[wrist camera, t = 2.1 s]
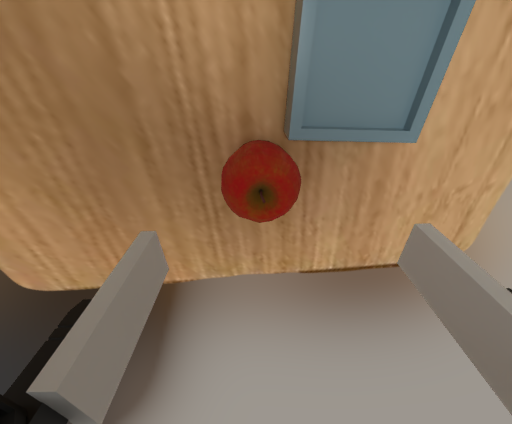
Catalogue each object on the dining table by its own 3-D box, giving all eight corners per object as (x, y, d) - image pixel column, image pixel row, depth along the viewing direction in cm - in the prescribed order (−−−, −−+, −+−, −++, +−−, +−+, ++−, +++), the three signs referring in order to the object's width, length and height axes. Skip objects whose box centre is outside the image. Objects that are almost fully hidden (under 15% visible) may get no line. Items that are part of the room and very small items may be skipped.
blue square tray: (283, 130, 27) (288, 139, 23) (298, -33, 19) (309, -56, 16) (395, 133, 27) (416, 142, 24) (452, -27, 20) (495, -48, 16)
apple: (236, 195, 32) (230, 245, 23) (217, 137, 27) (200, 171, 18) (295, 182, 31) (312, 229, 22) (285, 120, 26) (301, 146, 17)
